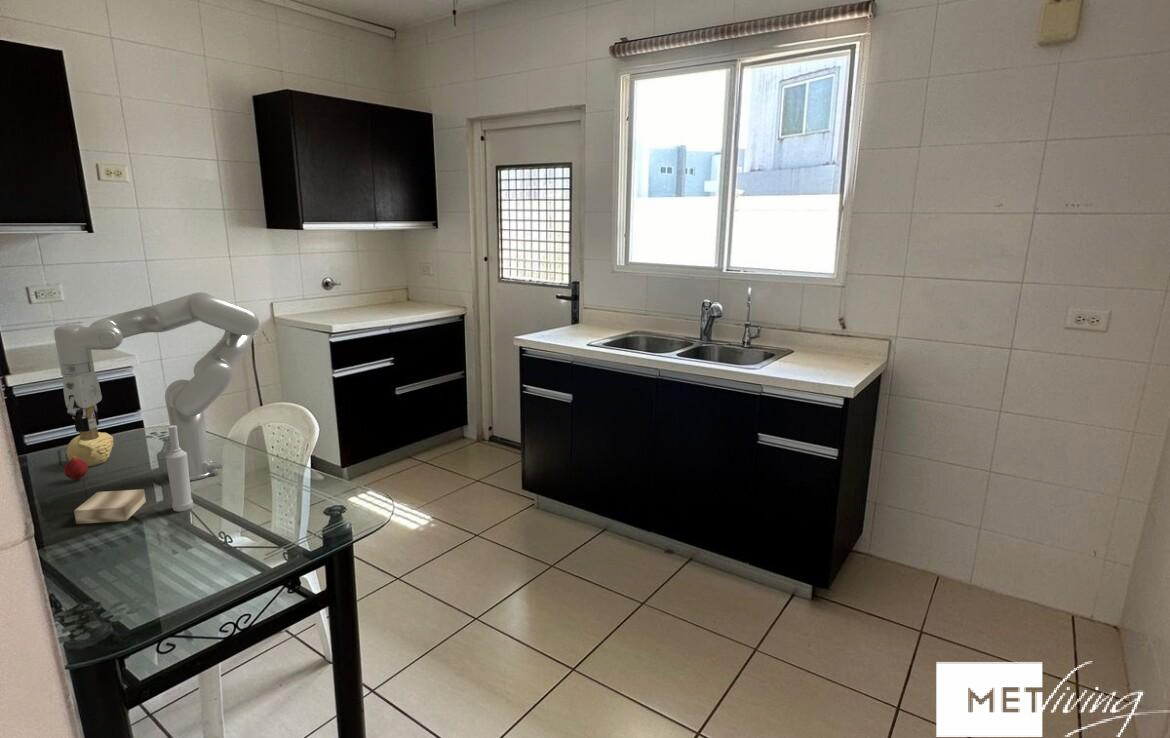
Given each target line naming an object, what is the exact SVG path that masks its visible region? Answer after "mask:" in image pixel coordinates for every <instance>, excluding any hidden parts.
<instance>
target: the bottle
mask: <svg viewBox="0 0 1170 738" xmlns="http://www.w3.org/2000/svg"><path fill="white" fill-rule="evenodd" d="M167 429H168V434H169V442H170V449H169V451H168V453H166V454H165V461H166V468H167V477H168V480H169V481H168V482H169V487H170V493H171V499H172V503H171V506H172V509H173V511H174V512H179V513H180V512H185V511H189V510H191V509H192V508H193V507H194V501H193V499H192V491H191V483H190V482H191V481H190V479H189V470H188V460H187V453H186V452H184V451H183V450H181V448H180V447H179V441H178V431H177V426H176V425H172V426H170V425H169V426H168V427H167Z"/></svg>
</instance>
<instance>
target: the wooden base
mask: <svg viewBox="0 0 1170 738" xmlns="http://www.w3.org/2000/svg"><path fill="white" fill-rule="evenodd" d="M146 502H147V501H146V493H145V489H143V488H142V489H125V490H110V491H109V490H108V491H96V492H95V493H94V494H92V496H90V497H89V498H88V499H87V500H85V501H84V502H83V503H82V504H80V505H79V506H78V507H77V508H76V509H74V511H73V513H74V517H75V524H76V525H81V524H96V523H97V524H98V523H115V522H125V521H128V520H129V519H130V518H131V517H132V516H133V515H134V514H135V513H136V512H137V511H138V510H139V509H140V508H141V507H142V506H143V505H144V504H145V503H146Z"/></svg>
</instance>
